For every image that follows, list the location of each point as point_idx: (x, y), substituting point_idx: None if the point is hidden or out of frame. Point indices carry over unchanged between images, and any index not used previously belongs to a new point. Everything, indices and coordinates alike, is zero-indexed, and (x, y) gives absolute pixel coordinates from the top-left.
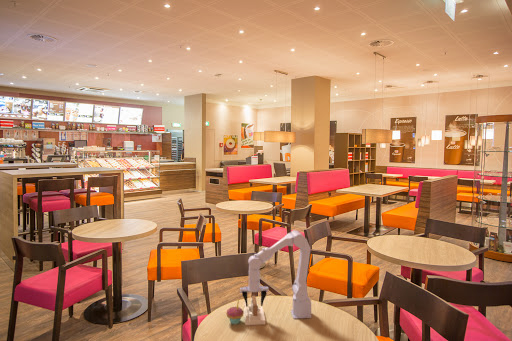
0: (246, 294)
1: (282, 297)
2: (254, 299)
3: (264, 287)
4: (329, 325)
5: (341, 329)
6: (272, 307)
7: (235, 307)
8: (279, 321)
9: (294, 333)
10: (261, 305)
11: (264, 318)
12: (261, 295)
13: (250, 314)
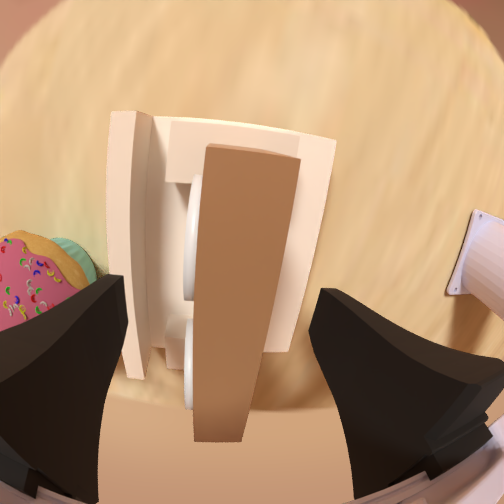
0: (74, 497)
1: (474, 39)
2: (239, 317)
3: (501, 473)
4: (487, 334)
5: (488, 350)
6: (408, 118)
7: (11, 321)
8: (376, 309)
9: None
10: (313, 336)
11: (290, 331)
12: (374, 426)
13: (170, 339)
